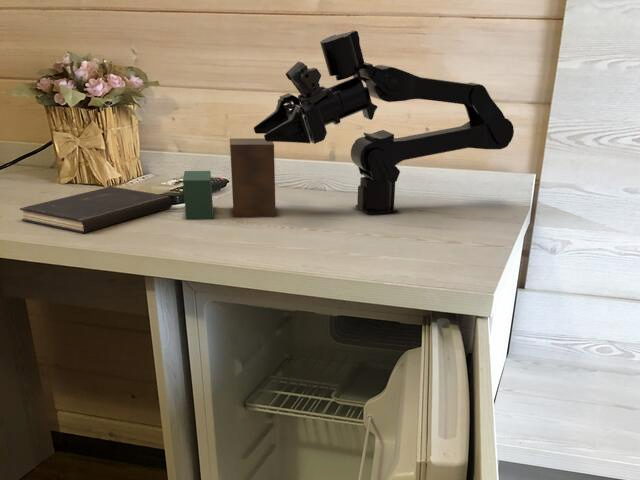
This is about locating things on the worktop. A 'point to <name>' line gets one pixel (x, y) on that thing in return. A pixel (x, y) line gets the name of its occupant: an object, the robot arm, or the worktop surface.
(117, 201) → the hardcover book
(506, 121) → the robot arm
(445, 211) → the worktop surface
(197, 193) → the green block
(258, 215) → the walnut block
